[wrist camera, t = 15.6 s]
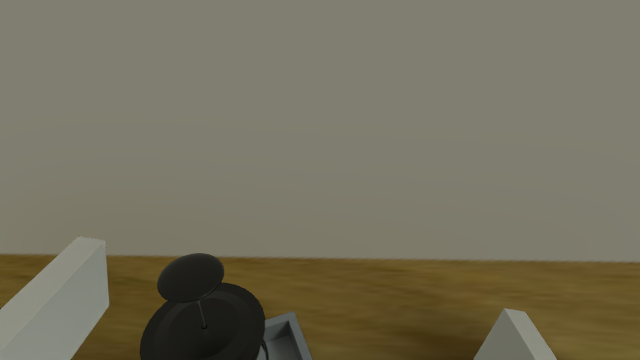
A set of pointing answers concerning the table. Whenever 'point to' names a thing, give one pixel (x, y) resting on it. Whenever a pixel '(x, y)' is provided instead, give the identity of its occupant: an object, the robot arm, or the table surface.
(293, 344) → the tray
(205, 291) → the french press
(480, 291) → the table surface
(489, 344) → the robot arm
